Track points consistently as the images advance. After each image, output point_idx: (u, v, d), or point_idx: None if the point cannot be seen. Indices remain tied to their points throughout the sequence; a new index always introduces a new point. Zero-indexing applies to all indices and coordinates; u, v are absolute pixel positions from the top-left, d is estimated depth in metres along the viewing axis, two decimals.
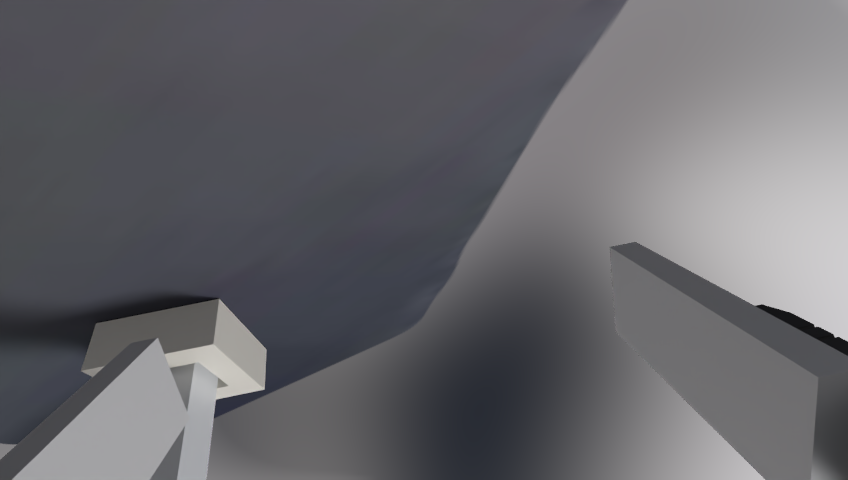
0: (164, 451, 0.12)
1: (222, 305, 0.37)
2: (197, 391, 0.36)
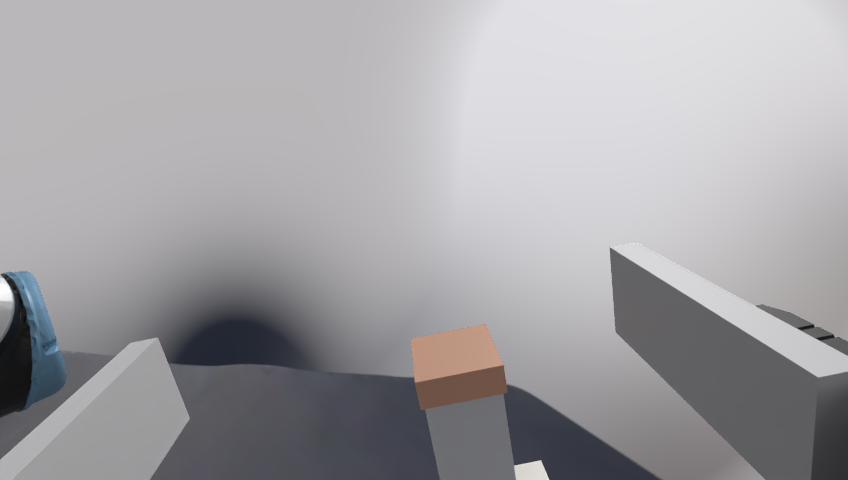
0: (164, 451, 0.12)
1: None
2: None
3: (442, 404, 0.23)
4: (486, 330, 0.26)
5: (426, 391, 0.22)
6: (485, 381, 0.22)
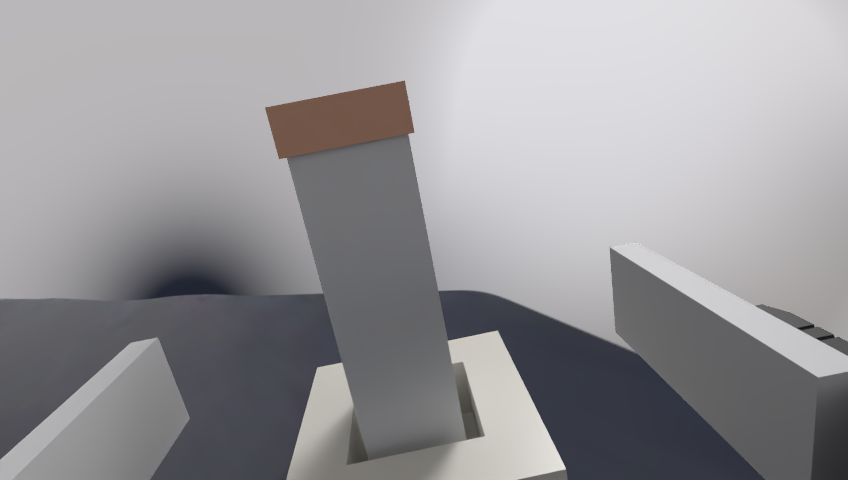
0: (164, 451, 0.12)
1: None
2: None
3: (312, 149, 0.14)
4: None
5: (285, 124, 0.14)
6: (378, 109, 0.14)
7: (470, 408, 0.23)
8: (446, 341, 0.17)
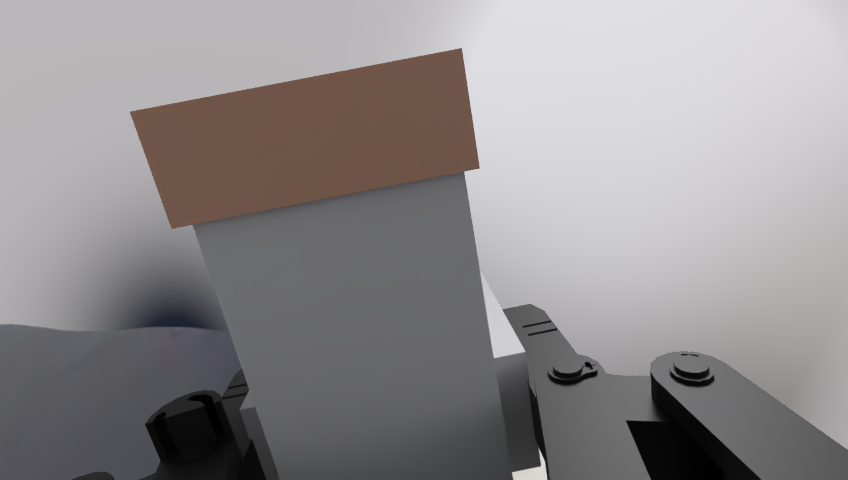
0: None
1: None
2: None
3: (248, 208, 0.06)
4: None
5: (180, 152, 0.06)
6: (399, 115, 0.06)
7: None
8: None
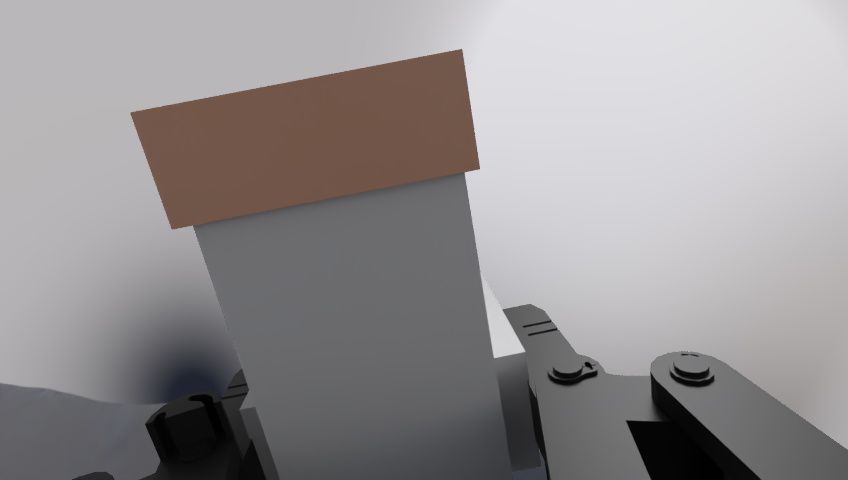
0: None
1: None
2: None
3: (248, 209, 0.06)
4: None
5: (181, 152, 0.06)
6: (400, 116, 0.06)
7: None
8: None
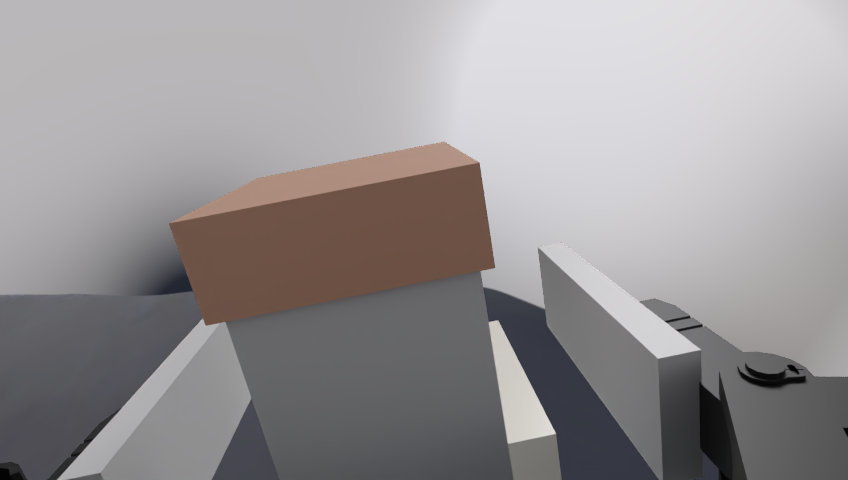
0: (242, 410, 0.13)
1: None
2: None
3: (277, 306, 0.07)
4: (443, 144, 0.10)
5: (215, 258, 0.06)
6: (420, 222, 0.07)
7: None
8: None
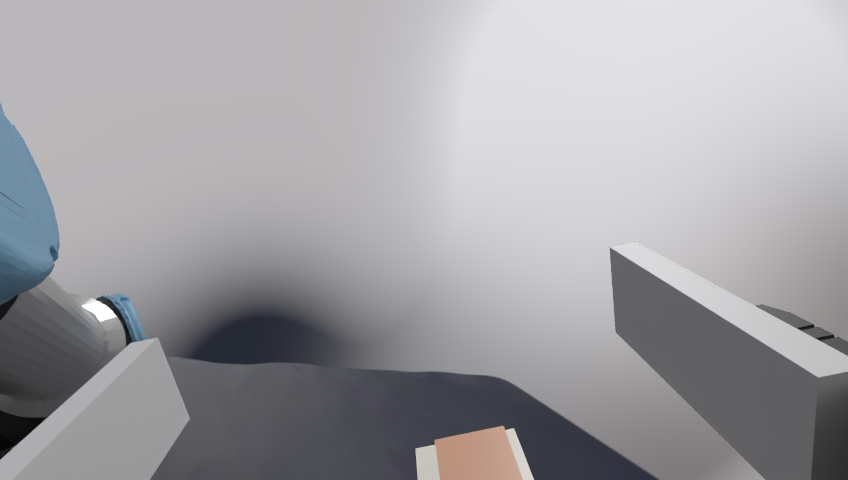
0: (164, 451, 0.12)
1: None
2: None
3: None
4: (504, 434, 0.28)
5: None
6: None
7: None
8: None
